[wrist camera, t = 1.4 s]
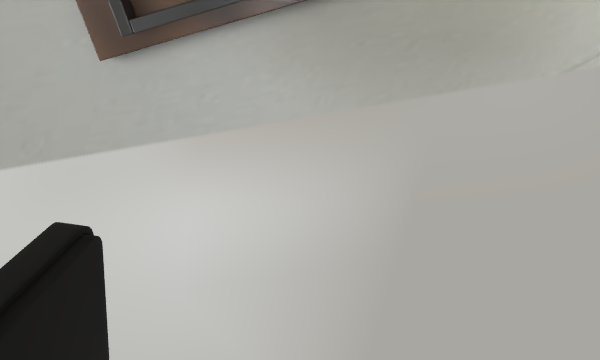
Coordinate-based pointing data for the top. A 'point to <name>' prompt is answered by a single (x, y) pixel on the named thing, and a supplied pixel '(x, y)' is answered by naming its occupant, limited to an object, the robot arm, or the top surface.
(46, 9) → the top surface
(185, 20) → the rectangular tray
